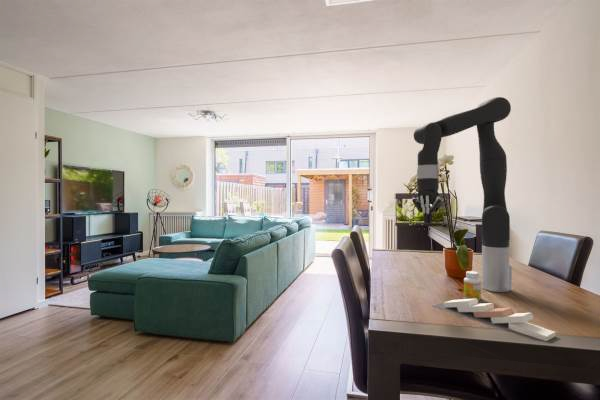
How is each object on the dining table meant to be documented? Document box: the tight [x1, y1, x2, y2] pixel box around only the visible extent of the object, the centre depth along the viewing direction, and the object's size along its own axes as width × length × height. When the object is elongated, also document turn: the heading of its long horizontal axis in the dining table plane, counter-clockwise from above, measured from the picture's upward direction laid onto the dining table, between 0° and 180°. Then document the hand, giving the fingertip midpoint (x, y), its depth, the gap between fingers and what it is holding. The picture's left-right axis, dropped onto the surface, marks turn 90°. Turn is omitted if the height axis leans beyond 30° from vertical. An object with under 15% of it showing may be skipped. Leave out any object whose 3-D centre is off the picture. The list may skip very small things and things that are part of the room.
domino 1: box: [442, 298, 479, 308], centre depth 105 cm, size 2×5×9 cm
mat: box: [432, 302, 512, 332], centre depth 101 cm, size 24×9×1 cm, turn 31°
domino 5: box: [509, 321, 556, 342], centre depth 87 cm, size 2×5×9 cm
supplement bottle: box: [463, 270, 482, 301], centre depth 116 cm, size 5×5×10 cm
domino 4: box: [491, 312, 534, 323], centre depth 92 cm, size 2×5×9 cm
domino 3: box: [473, 307, 514, 317], centre depth 96 cm, size 2×5×9 cm
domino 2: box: [457, 302, 495, 312], centre depth 101 cm, size 2×5×9 cm
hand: (427, 223), depth 121 cm, fingers closed
